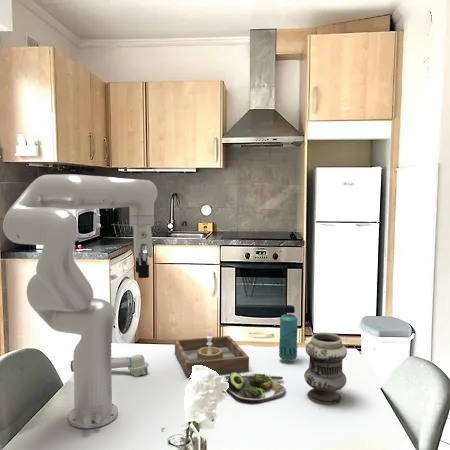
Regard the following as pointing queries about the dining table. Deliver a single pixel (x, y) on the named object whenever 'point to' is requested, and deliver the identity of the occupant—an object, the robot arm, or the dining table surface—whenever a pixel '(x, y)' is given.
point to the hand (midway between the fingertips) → (142, 274)
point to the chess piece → (209, 343)
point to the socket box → (211, 355)
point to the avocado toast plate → (253, 387)
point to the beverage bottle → (288, 334)
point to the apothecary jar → (325, 368)
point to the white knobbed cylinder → (127, 364)
